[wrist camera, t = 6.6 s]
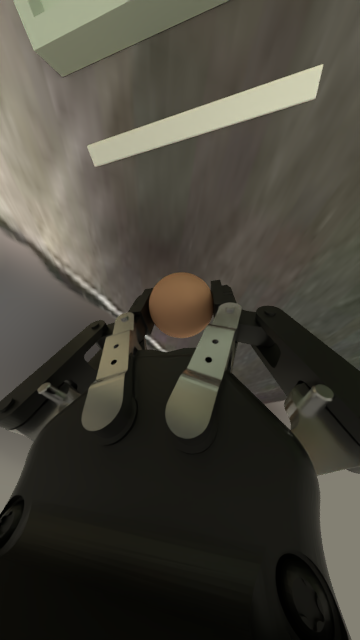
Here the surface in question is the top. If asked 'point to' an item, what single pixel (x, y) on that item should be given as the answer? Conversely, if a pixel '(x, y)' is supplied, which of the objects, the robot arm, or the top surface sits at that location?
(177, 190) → the top surface
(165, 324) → the ball
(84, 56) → the tray
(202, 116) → the strip
